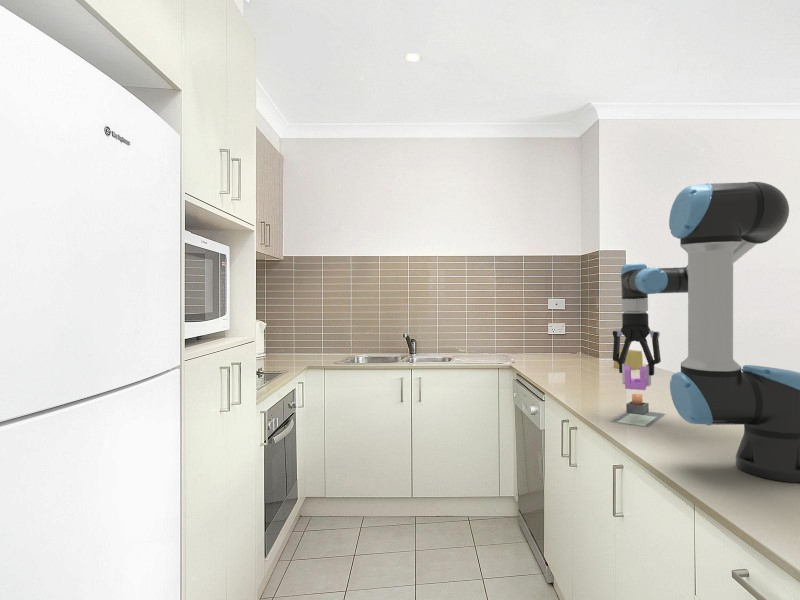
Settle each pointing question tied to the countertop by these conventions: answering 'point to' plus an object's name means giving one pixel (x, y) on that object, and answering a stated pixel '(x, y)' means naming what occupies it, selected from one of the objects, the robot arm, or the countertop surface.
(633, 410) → the button housing
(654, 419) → the grey flat plate
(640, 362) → the cheese
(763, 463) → the robot arm
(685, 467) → the countertop surface
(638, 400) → the button
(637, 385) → the bracket
